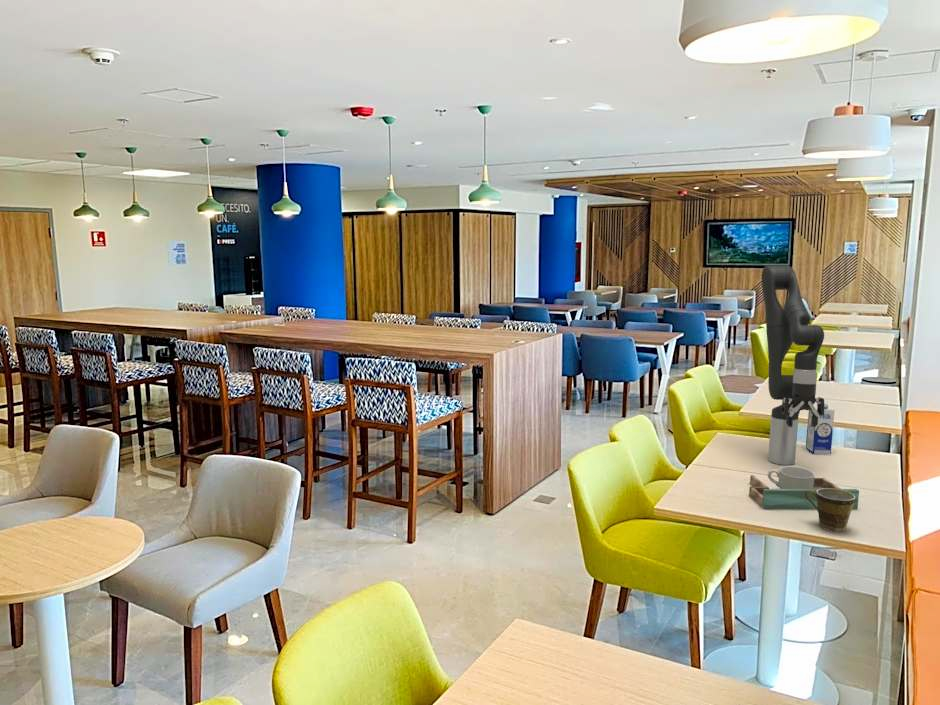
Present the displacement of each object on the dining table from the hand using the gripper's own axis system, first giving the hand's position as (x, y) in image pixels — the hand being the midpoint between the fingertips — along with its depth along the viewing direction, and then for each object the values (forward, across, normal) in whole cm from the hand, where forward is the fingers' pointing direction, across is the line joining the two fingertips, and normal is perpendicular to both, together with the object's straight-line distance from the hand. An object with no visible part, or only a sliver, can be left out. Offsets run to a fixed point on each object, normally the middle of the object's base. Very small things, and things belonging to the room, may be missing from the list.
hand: (801, 426), depth 243 cm
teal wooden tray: (+18, +13, +22) cm, 31 cm away
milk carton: (+17, -21, -26) cm, 37 cm away
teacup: (+18, +13, +19) cm, 29 cm away
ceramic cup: (+19, +15, +46) cm, 52 cm away
